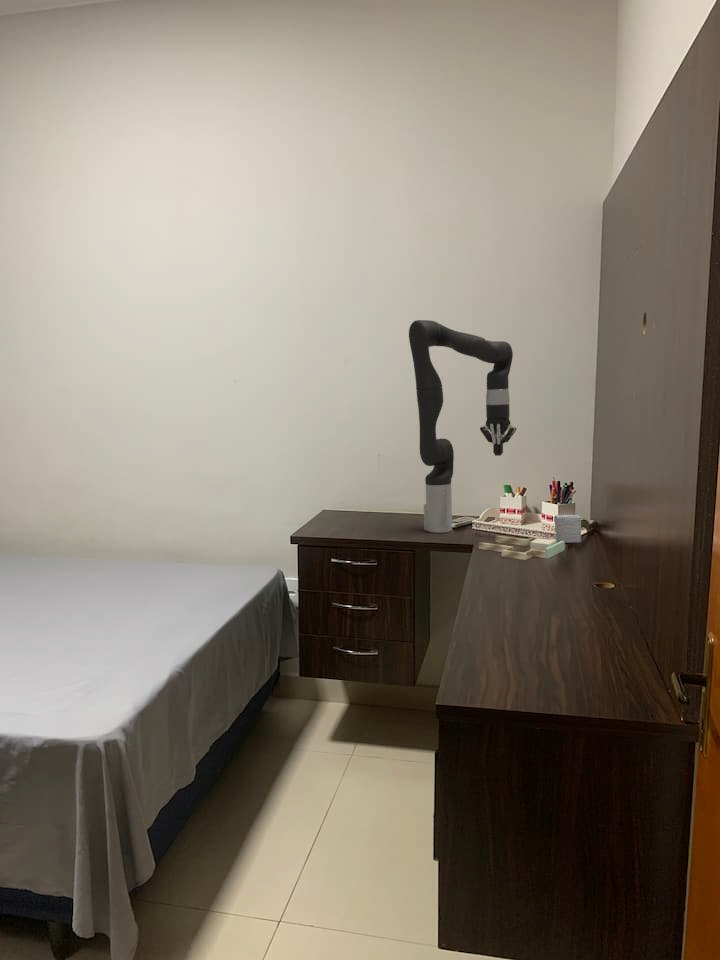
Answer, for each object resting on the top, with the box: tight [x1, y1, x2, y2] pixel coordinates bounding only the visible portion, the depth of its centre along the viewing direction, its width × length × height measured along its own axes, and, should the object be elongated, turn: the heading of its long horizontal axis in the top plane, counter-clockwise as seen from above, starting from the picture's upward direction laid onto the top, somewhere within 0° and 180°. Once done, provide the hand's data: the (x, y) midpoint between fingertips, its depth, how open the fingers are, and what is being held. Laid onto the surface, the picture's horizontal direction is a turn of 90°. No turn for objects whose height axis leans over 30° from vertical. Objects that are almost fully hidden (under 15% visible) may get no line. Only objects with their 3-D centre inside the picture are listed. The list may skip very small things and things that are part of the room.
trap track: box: [478, 535, 566, 561], centre depth 236 cm, size 24×22×3 cm
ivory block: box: [529, 538, 557, 551], centre depth 231 cm, size 6×6×4 cm
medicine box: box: [554, 514, 582, 544], centre depth 244 cm, size 8×4×9 cm, turn 84°
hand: (498, 455), depth 245 cm, fingers closed
